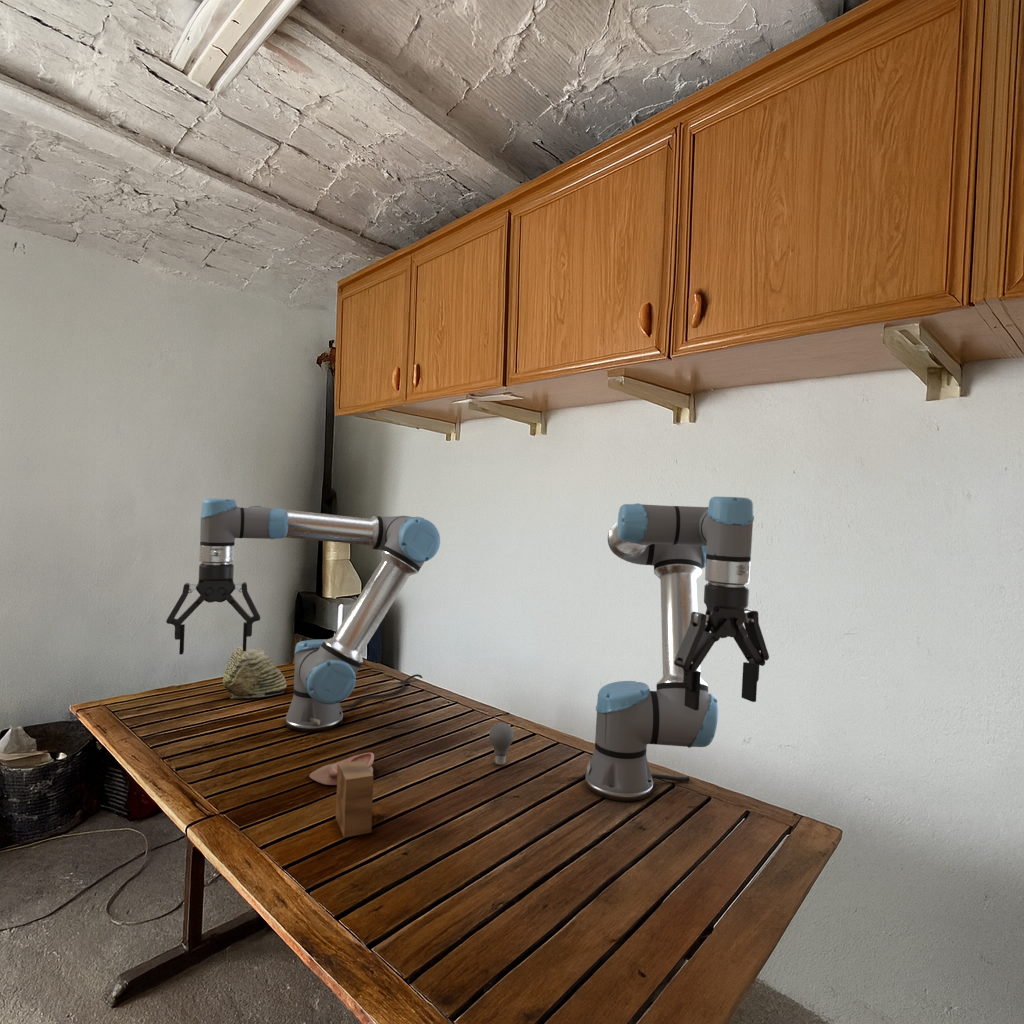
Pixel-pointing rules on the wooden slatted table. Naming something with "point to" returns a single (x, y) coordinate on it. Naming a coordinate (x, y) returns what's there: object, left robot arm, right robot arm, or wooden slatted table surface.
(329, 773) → the anatomical model
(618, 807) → the wooden slatted table surface
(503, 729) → the light bulb
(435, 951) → the wooden slatted table surface
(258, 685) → the fossil
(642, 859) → the wooden slatted table surface
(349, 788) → the block
